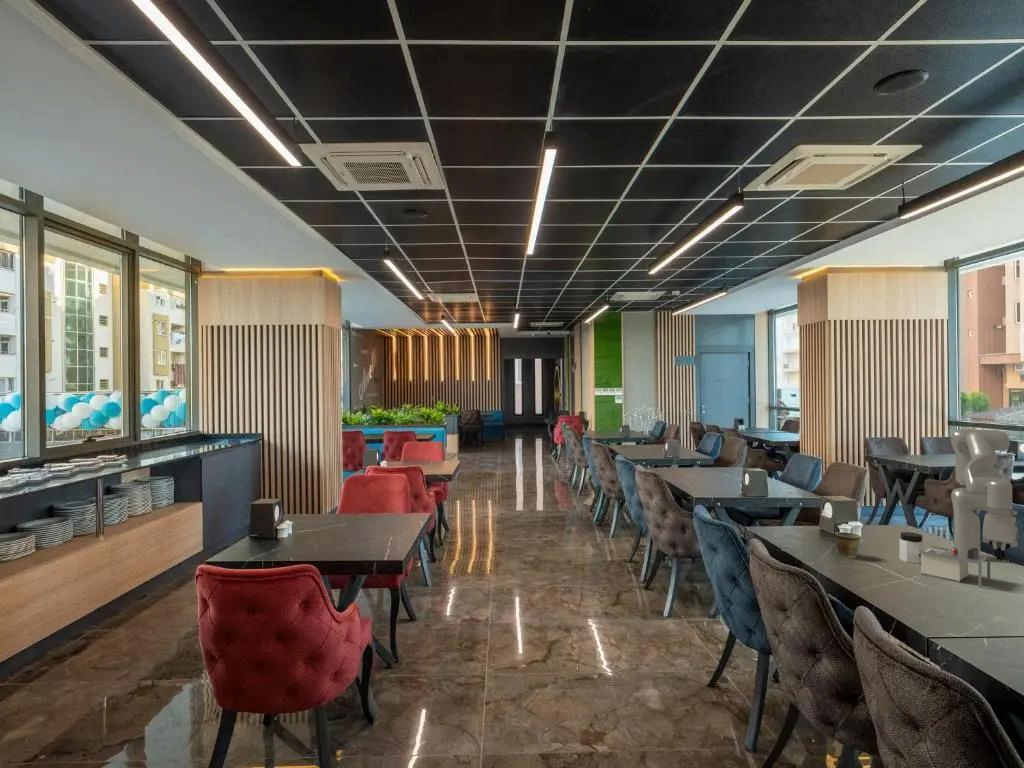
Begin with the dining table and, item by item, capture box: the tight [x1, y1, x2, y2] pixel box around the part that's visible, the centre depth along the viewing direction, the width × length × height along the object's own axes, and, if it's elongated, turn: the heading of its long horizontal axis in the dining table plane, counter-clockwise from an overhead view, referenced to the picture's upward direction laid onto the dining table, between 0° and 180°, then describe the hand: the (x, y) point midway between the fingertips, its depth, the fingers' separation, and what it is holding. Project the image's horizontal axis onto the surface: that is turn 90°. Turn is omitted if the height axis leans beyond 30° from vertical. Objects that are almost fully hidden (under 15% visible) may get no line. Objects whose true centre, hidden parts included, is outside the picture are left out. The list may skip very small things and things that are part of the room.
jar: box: [899, 531, 924, 565], centre depth 262 cm, size 9×8×12 cm
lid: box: [940, 547, 989, 564], centre depth 236 cm, size 11×13×4 cm
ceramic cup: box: [834, 531, 861, 559], centre depth 271 cm, size 13×10×10 cm
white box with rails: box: [918, 545, 991, 589], centre depth 239 cm, size 14×22×10 cm, turn 39°
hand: (1000, 559), depth 227 cm, fingers closed
